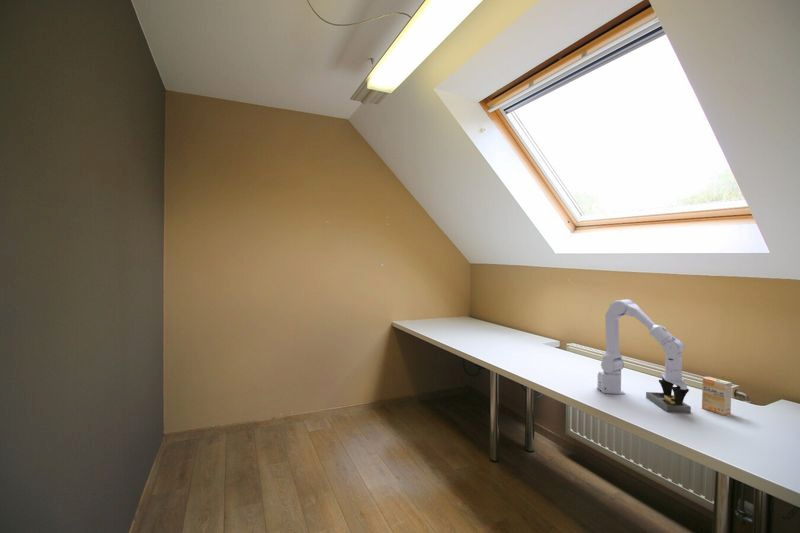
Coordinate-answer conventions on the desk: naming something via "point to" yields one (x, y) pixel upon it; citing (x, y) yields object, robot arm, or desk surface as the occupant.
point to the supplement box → (716, 395)
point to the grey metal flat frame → (659, 400)
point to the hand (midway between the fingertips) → (672, 400)
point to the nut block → (669, 399)
